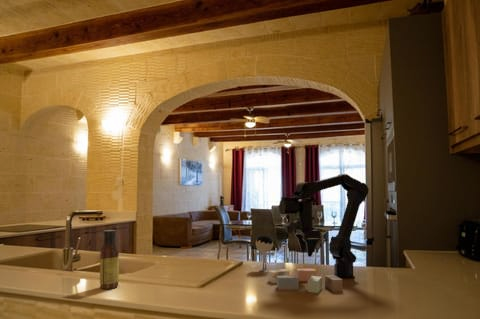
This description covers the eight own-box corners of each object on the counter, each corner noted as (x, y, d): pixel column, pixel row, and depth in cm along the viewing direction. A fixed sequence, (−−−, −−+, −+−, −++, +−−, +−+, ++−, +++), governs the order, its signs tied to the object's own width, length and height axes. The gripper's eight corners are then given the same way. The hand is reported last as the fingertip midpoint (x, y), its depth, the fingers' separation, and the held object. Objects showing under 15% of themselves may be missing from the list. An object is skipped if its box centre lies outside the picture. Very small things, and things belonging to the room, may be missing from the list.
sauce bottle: (122, 286, 124) (124, 229, 126) (110, 290, 118) (112, 231, 120) (107, 284, 126) (109, 229, 128) (94, 288, 121) (97, 230, 123)
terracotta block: (314, 279, 136) (313, 268, 137) (316, 281, 133) (316, 270, 133) (296, 279, 136) (296, 268, 136) (298, 281, 133) (298, 270, 133)
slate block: (296, 287, 125) (295, 275, 125) (298, 289, 121) (298, 277, 122) (276, 287, 124) (276, 275, 124) (278, 290, 121) (278, 278, 121)
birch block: (284, 279, 135) (284, 269, 136) (289, 281, 132) (289, 270, 133) (268, 281, 132) (268, 270, 133) (273, 283, 129) (273, 272, 130)
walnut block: (324, 286, 125) (324, 275, 126) (333, 286, 126) (333, 275, 126) (333, 292, 118) (332, 279, 119) (342, 291, 119) (342, 279, 119)
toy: (274, 267, 156) (274, 234, 157) (274, 271, 149) (274, 235, 151) (255, 267, 157) (255, 233, 158) (254, 270, 150) (254, 235, 152)
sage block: (312, 287, 124) (312, 275, 125) (322, 288, 123) (321, 276, 123) (307, 292, 118) (307, 280, 118) (318, 293, 117) (317, 281, 117)
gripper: (280, 212, 145) (280, 250, 144) (291, 215, 127) (291, 259, 125) (306, 212, 147) (306, 250, 145) (320, 215, 128) (321, 258, 127)
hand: (306, 254), depth 135 cm, fingers open, 9 cm apart
